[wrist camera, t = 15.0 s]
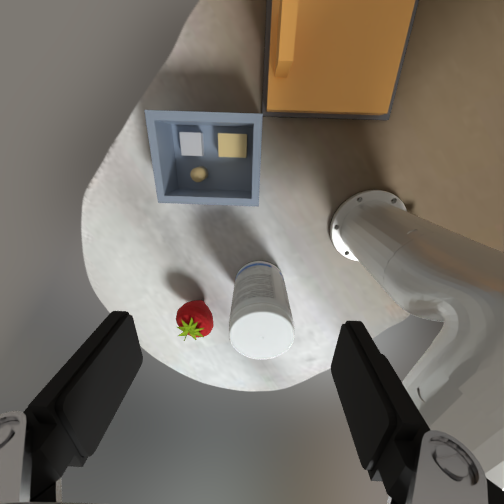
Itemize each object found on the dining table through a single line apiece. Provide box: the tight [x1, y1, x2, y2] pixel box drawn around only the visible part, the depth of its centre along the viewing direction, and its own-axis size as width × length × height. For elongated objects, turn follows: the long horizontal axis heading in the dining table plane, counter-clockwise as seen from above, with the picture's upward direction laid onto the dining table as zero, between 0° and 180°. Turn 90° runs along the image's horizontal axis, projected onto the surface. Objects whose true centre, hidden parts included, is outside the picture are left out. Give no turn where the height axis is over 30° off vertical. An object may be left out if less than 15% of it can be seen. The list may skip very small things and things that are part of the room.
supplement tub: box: [229, 261, 295, 359], centre depth 38 cm, size 10×10×15 cm
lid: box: [267, 0, 415, 115], centre depth 25 cm, size 16×13×8 cm
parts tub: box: [144, 110, 263, 206], centre depth 32 cm, size 14×11×7 cm
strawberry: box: [176, 300, 213, 341], centre depth 42 cm, size 6×8×10 cm
